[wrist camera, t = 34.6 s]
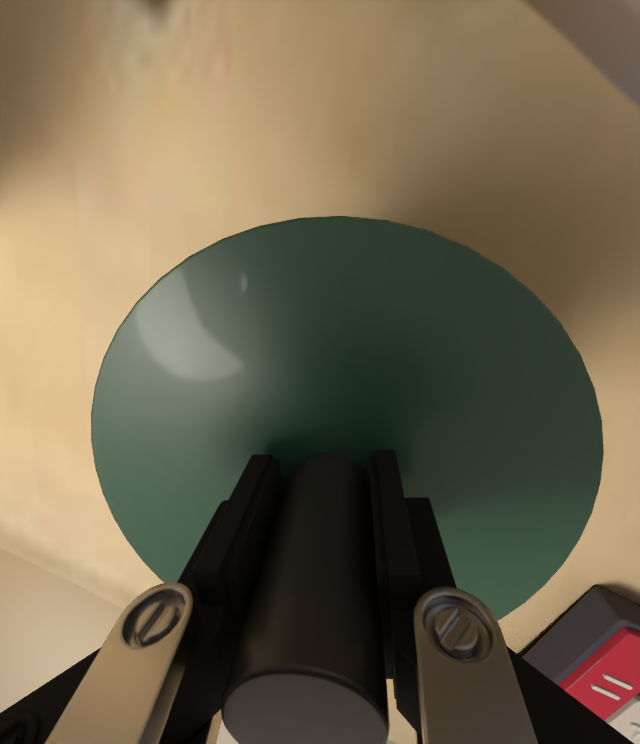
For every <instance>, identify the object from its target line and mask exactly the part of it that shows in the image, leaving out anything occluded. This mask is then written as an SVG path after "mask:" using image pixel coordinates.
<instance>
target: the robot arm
mask: <svg viewBox="0 0 640 744" xmlns="http://www.w3.org/2000/svg"><path fill="white" fill-rule="evenodd" d="M369 470H370V486H371V501H372V516H373V531H374V546H375V561H376V576H377V591H378V605H379V620H380V626H381V629H382V634H383V644H384V657H385V671H386V679H393V685H394V696H395V699H396V704H397V709H398V711H399V712H400V713H401V714H402V715H403V716H404V718H405V719H406V720H407V721H408V722H409V723H410V725H411V726H412V727H413V728H414V729H415V735H416V744H634V743H633V742H632V741H630V740H629V739H628V738H626V737H625V736H624V735H622V734H621V733H620V732H618V731H617V730H616V729H614V728H613V727H612V726H611V725H609V724H608V723H607V722H605V721H604V720H603V719H601V718H600V717H599V716H597V715H596V714H595V713H594V712H592V711H591V710H590V709H588V708H587V707H586V706H584V705H583V704H582V703H580V702H579V701H578V700H576V699H575V698H574V697H573V696H571V695H570V694H569V693H567V692H566V691H565V690H563V689H562V688H561V687H559V686H558V685H557V684H556V683H554V682H553V681H552V680H550V679H549V678H548V677H546V676H545V675H544V674H542V673H541V672H540V671H538V670H537V669H536V668H535V667H533V666H532V665H531V664H529V663H528V662H527V661H525V660H524V659H523V658H521V657H520V656H519V655H518V654H516V653H515V652H514V651H512V650H511V649H510V648H508V647H507V646H506V644H505V640H504V637H503V634H502V631H501V628H500V626H499V624H498V622H497V620H496V618H495V616H494V615H493V613H492V612H491V611H490V610H489V609H488V607H487V606H486V605H485V604H484V603H483V602H481V601H480V600H479V599H478V598H476V597H475V596H474V595H472V594H470V593H468V592H466V591H463V590H461V589H457V587H456V584H455V580H454V577H453V574H452V571H451V567H450V564H449V561H448V558H447V554H446V551H445V548H444V544H443V541H442V538H441V535H440V531H439V528H438V525H437V522H436V518H435V515H434V512H433V509H432V505H431V502H430V500H429V498H428V497H406V498H405V496H404V491H403V487H402V482H401V477H400V472H399V467H398V462H397V457H396V453H395V450H376V456H369ZM283 492H284V488H283V482H282V476H281V469H280V463H279V460H278V459H273V456H272V455H271V454H253V455H252V456H251V457H250V459H249V461H248V463H247V465H246V467H245V469H244V471H243V473H242V475H241V477H240V479H239V480H238V482H237V484H236V486H235V488H234V490H233V492H232V494H231V496H230V498H229V500H224V501H222V502H221V503H220V505H219V506H218V508H217V510H216V511H215V513H214V515H213V517H212V519H211V521H210V523H209V524H208V526H207V528H206V530H205V532H204V534H203V535H202V537H201V539H200V541H199V543H198V545H197V546H196V548H195V550H194V552H193V554H192V556H191V557H190V559H189V561H188V563H187V565H186V567H185V568H184V570H183V572H182V574H181V576H180V578H179V579H178V581H177V583H175V582H169V583H163V584H159V585H157V586H155V587H152V588H150V589H148V590H147V591H145V592H144V593H142V594H141V595H139V596H138V597H137V598H135V599H134V600H133V601H132V602H131V603H130V604H129V605H128V606H127V607H126V609H125V610H124V612H123V613H122V614H121V616H120V617H119V619H118V620H117V622H116V624H115V626H114V627H113V629H112V630H111V632H110V634H109V635H108V637H107V639H106V641H105V642H104V644H103V646H102V647H101V648H99V649H98V650H96V651H95V652H93V653H92V654H91V655H89V656H87V657H86V658H84V659H83V660H81V661H79V662H78V663H76V664H75V665H73V666H72V667H70V668H69V669H67V670H66V671H64V672H63V673H61V674H60V675H58V676H57V677H55V678H53V679H52V680H50V681H49V682H47V683H46V684H44V685H43V686H41V687H40V688H38V689H37V690H35V691H34V692H32V693H30V694H29V695H28V696H26V697H24V698H23V699H21V700H20V701H18V702H17V703H15V704H14V705H12V706H11V707H9V708H8V709H6V710H4V711H3V712H1V713H0V744H216V741H217V737H218V733H219V728H220V724H221V720H222V715H221V698H222V694H223V691H224V687H225V684H226V681H227V677H228V674H229V671H230V667H231V664H232V661H233V657H234V654H235V651H236V647H237V644H238V641H239V638H240V634H241V631H242V628H243V624H244V621H245V618H246V614H247V611H248V608H249V604H250V601H251V598H252V594H253V591H254V588H255V584H256V581H257V578H258V575H259V571H260V568H261V565H262V561H263V558H264V555H265V551H266V548H267V545H268V541H269V538H270V535H271V531H272V528H273V525H274V521H275V518H276V515H277V511H278V508H279V505H280V502H281V498H282V495H283Z"/></svg>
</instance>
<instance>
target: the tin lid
mask: <svg viewBox="0 0 640 744" xmlns="http://www.w3.org/2000/svg"><path fill="white" fill-rule="evenodd" d="M91 441H92V448H93V455H94V461H95V468H96V471H97V475H98V478H99V482H100V485H101V488H102V492H103V494H104V497H105V499H106V501H107V504H108V506H109V508H110V511H111V513H112V515H113V517H114V519H115V521H116V522H117V524H118V526H119V527H120V529H121V531H122V533H123V534H124V536H125V538H126V539H127V541H128V542H129V543H130V545H131V546H132V547H133V549H134V550H135V551H136V553H137V554H138V555H139V557H140V558H141V559H142V560H143V562H144V563H145V564H146V565H147V566H148V567H149V568H150V569H151V570H152V571H153V572H154V573H155V574H156V575H157V576H158V578H159V579H161V580H162V581H163V582H164V583H169V582H175V583H177V581H178V579H179V578H180V576H181V574H182V572H183V570H184V568H185V567H186V565H187V563H188V561H189V559H190V557H191V556H192V554H193V552H194V550H195V548H196V546H197V545H198V543H199V541H200V539H201V537H202V535H203V534H204V532H205V530H206V528H207V526H208V524H209V523H210V521H211V519H212V517H213V515H214V513H215V511H216V510H217V508H218V506H219V505H220V503H221V502H222V501H224V500H229V498H230V496H231V494H232V492H233V490H234V488H235V486H236V484H237V482H238V480H239V479H240V477H241V475H242V473H243V471H244V469H245V467H246V465H247V463H248V461H249V459H250V457H251V456H252V455H253V454H271V455H272V456H273V459H278V460H279V463H280V469H281V476H282V482H283V488H284V492H283V495H282V498H281V502H280V505H279V508H278V511H277V515H276V518H275V521H274V525H273V528H272V531H271V535H270V538H269V541H268V545H267V548H266V551H265V555H264V558H263V561H262V565H261V568H260V571H259V575H258V578H257V581H256V584H255V588H254V591H253V594H252V598H251V601H250V604H249V608H248V611H247V614H246V618H245V621H244V624H243V628H242V631H241V634H240V638H239V641H238V644H237V647H236V651H235V654H234V657H233V661H232V664H231V667H230V671H229V674H228V677H227V681H226V684H225V687H224V691H223V694H222V698H221V715H222V720H223V722H224V725H225V727H226V729H227V730H228V732H229V733H230V734H231V736H232V737H233V738H234V739H235V740H236V741H237V742H238V743H239V744H386V742H387V739H388V735H389V727H390V724H389V711H388V698H387V684H386V671H385V657H384V644H383V634H382V629H381V626H380V620H379V605H378V591H377V576H376V561H375V546H374V531H373V516H372V501H371V486H370V470H369V456H376V450H395V453H396V457H397V462H398V467H399V472H400V477H401V482H402V487H403V491H404V496H405V498H406V497H428V498H429V500H430V502H431V505H432V509H433V512H434V515H435V518H436V522H437V525H438V528H439V531H440V535H441V538H442V541H443V544H444V548H445V551H446V554H447V558H448V561H449V564H450V567H451V571H452V574H453V577H454V580H455V584H456V587H457V589H461V590H463V591H466V592H468V593H470V594H472V595H474V596H475V597H476V598H478V599H479V600H480V601H481V602H483V603H484V604H485V605H486V606H487V607H488V609H489V610H490V611H491V612H492V613H493V615H494V616H495V618H496V620H497V621H498V620H500V619H502V618H503V617H505V616H506V615H507V614H509V613H510V612H512V611H513V610H515V609H516V608H518V607H519V606H521V605H522V604H523V603H525V602H526V601H527V600H528V599H529V598H530V597H532V596H533V595H534V594H535V593H536V592H537V591H538V590H540V589H541V588H542V587H543V586H544V585H545V584H546V583H547V582H548V581H549V580H550V578H551V577H552V576H553V575H554V574H555V573H556V572H557V570H558V569H559V568H560V567H561V566H562V565H563V564H564V562H565V561H566V559H567V558H568V556H569V555H570V553H571V552H572V550H573V548H574V547H575V545H576V544H577V542H578V541H579V539H580V537H581V535H582V533H583V531H584V529H585V526H586V524H587V522H588V520H589V518H590V515H591V513H592V510H593V507H594V503H595V500H596V496H597V493H598V489H599V485H600V480H601V471H602V462H603V453H604V452H603V435H602V420H601V415H600V411H599V407H598V402H597V398H596V394H595V389H594V386H593V384H592V381H591V379H590V377H589V374H588V372H587V369H586V367H585V365H584V362H583V360H582V358H581V355H580V353H579V352H578V350H577V348H576V347H575V345H574V344H573V342H572V341H571V339H570V337H569V336H568V334H567V333H566V331H565V329H564V328H563V326H562V325H561V323H560V322H559V321H558V320H557V318H556V317H555V316H554V315H553V314H552V313H551V312H550V311H549V309H548V308H547V307H546V306H545V305H544V304H543V303H542V302H541V300H540V299H539V298H538V297H537V296H536V295H535V294H534V293H533V292H532V291H531V290H529V289H528V288H527V287H526V286H525V285H523V284H522V283H521V282H520V281H518V280H517V279H516V278H515V277H514V276H512V275H511V274H510V273H509V272H507V271H506V270H505V269H504V268H502V267H501V266H499V265H497V264H496V263H494V262H492V261H491V260H489V259H487V258H486V257H484V256H482V255H480V254H479V253H477V252H475V251H474V250H472V249H470V248H469V247H467V246H465V245H462V244H460V243H457V242H455V241H452V240H450V239H447V238H445V237H442V236H440V235H437V234H435V233H433V232H430V231H428V230H424V229H420V228H416V227H412V226H407V225H403V224H399V223H395V222H391V221H387V220H379V219H369V218H359V217H348V216H330V217H309V218H297V219H292V220H287V221H282V222H276V223H271V224H266V225H261V226H258V227H255V228H252V229H249V230H246V231H243V232H241V233H238V234H235V235H232V236H229V237H226V238H224V239H221V240H219V241H217V242H216V243H214V244H212V245H210V246H208V247H206V248H204V249H202V250H201V251H199V252H197V253H195V254H193V255H191V256H189V257H188V258H187V259H185V260H184V261H183V262H181V263H180V264H178V265H177V266H176V267H174V268H173V269H172V270H170V271H169V272H168V273H166V274H165V275H164V276H162V277H161V278H160V279H159V280H158V281H157V282H156V283H155V284H154V285H153V286H152V287H151V288H150V289H149V290H148V291H147V292H146V293H145V294H144V295H143V296H142V297H141V298H140V299H139V300H138V302H137V303H136V304H135V305H134V307H133V308H132V310H131V311H130V313H129V314H128V315H127V317H126V318H125V320H124V321H123V322H122V324H121V325H120V327H119V328H118V330H117V332H116V334H115V336H114V338H113V340H112V342H111V344H110V346H109V348H108V350H107V352H106V354H105V356H104V359H103V362H102V365H101V368H100V372H99V375H98V378H97V382H96V385H95V391H94V398H93V405H92V412H91Z"/></svg>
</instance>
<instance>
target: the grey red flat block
mask: <svg viewBox="0 0 640 744" xmlns="http://www.w3.org/2000/svg"><path fill="white" fill-rule="evenodd" d="M522 658H523V659H524V660H525V661H527V662H528V663H529V664H531V665H532V666H533V667H535V668H536V669H537V670H538V671H540V672H541V673H542V674H544V675H545V676H546V677H548V678H549V679H550V680H552V681H553V682H554V683H556V684H557V685H558V686H559V687H561V688H562V689H563V690H565V691H566V692H567V693H569V694H570V695H571V696H573V697H574V698H575V699H576V700H578V701H579V702H580V703H582V704H583V705H584V706H586V707H587V708H588V709H590V710H591V711H592V712H594V713H595V714H596V715H597V716H599V717H600V718H601V719H603V720H604V721H605V722H607V723H608V724H609V725H611V726H612V727H613V728H614V729H616V730H617V731H618V732H620V733H621V734H622V735H624V736H625V737H626V738H628V739H629V740H630V741H632V742H633V743H634V744H640V606H639V605H637V604H635V603H633V602H631V601H629V600H627V599H625V598H623V597H620V596H618V595H616V594H614V593H612V592H610V591H608V590H606V589H604V588H602V587H599V586H595V587H593V588H592V589H591V590H590V591H589V592H588V593H587V594H586V595H585V596H584V597H583V598H582V599H581V600H580V601H579V602H578V603H577V604H576V605H574V606H573V607H572V608H571V609H570V610H569V611H568V612H567V613H566V614H565V615H564V616H563V617H562V618H561V619H560V620H559V621H558V622H557V623H556V624H555V625H554V626H553V627H552V628H551V629H550V630H549V631H548V632H547V633H546V634H545V635H544V636H543V637H542V638H541V639H540V640H539V641H538V642H537V643H536V644H535V645H534V646H533V647H532V648H531V649H530V650H529V651H528V652H527V653H526V654H525V655H524V656H523V657H522Z"/></svg>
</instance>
